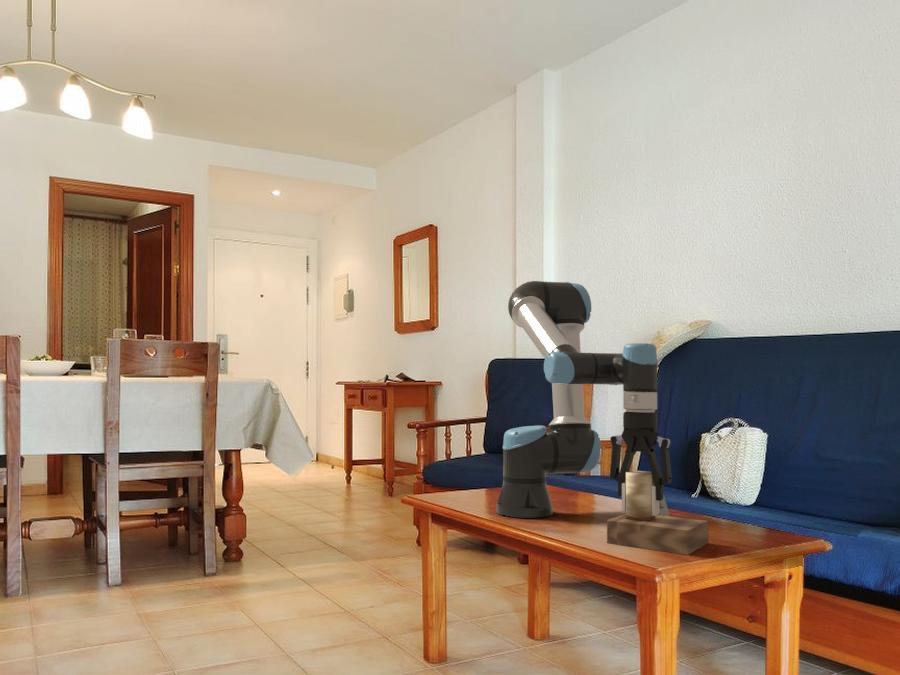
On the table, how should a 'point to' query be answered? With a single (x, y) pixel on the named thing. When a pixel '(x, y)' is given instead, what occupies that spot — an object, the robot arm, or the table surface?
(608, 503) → the table surface
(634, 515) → the leg peg
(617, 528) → the board
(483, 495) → the table surface
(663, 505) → the electrical switch
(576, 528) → the table surface
